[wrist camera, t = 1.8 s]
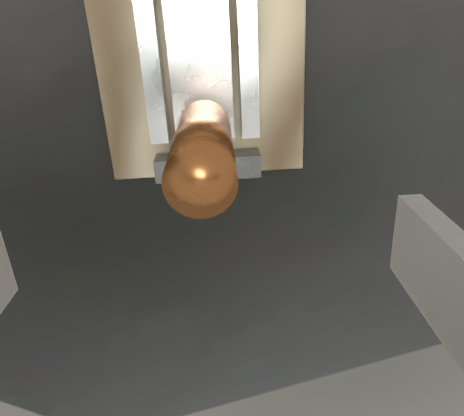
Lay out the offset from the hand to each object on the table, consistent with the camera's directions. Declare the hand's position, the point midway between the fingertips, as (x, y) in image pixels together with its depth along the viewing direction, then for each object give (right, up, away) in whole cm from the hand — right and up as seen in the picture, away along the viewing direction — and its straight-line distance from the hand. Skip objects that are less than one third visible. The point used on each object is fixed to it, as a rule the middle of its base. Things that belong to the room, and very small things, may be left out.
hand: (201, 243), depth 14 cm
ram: (-1, +11, +14) cm, 18 cm away
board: (-1, +11, +15) cm, 19 cm away
